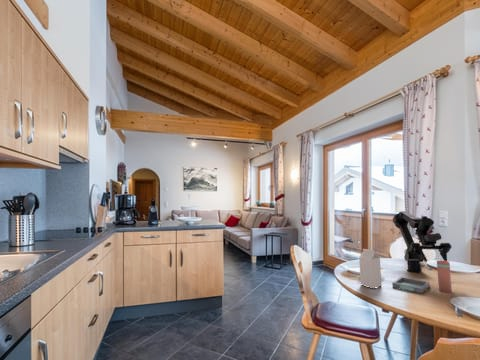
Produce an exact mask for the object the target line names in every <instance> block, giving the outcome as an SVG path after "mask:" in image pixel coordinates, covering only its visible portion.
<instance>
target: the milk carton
mask: <svg viewBox="0 0 480 360" xmlns="http://www.w3.org/2000/svg"><path fill="white" fill-rule="evenodd" d="M358 260H359V275H360V285H361V284H363V285H366V286H369V287H371V288H375V287H379V286H382V287H383V285H382V272H381V269H382V268H381V258H380V256H379V255H378V254H377V253H376V251H375V250H371V249H366V248H363V249H362V252H361V254H360V255H359V259H358ZM379 288H380V287H379Z"/></svg>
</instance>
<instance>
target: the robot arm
mask: <svg viewBox="0 0 480 360" xmlns="http://www.w3.org/2000/svg"><path fill="white" fill-rule="evenodd" d="M392 222H393V224H394V226H395V227H396V228H397V229H399V231H400V233H401V236H402V238H403V241H404V243H405V245H406V249H405V254H404V260H405V262H406V263H407V270H406V271H407V272H412V273H416V274H419V273H421V272H422V271H423V264H422V263H423V262H425V263H427V262H428V259H427V256H426V255H425V253H424V250H426V251H427V250H428V251H429V250H438V252H439V255H440V256H441V259H442V260H443V261H448V253H449V252H450V250H451V249H452V245H451V243H449V242H440V243H439V245H436V244H437V242H438V241H439V240H441V239H442V238H443V237H442V235H441V234H440V233H439V232H437V233H429V232H430V231H431V230H432V228H433V226H434V224H435V221H434V219H432V218H429V217H428V216H427V215H423V216H422V217H418V216H415V215H413V214H411V213H410V211H406V210H405V211H402V210H401V211H399V213H397V214H395V215H394V216H393V217H392ZM408 225H409V226H408ZM409 227H411V228H412V229H415V233H414V235H416V236H417V238H418V239H419V240H418V242H415V241H414V238H413V236H412V233H411V231H410V229H409Z"/></svg>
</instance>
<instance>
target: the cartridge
mask: <svg viewBox="0 0 480 360" xmlns="http://www.w3.org/2000/svg"><path fill="white" fill-rule="evenodd" d="M436 269H437V279H438V280H437V281H438V283H437V284H438V290H439V291H440V292H443V293H452V281H451V280H452V277H451V264H450V261H448V260H447V261H444V260H436Z"/></svg>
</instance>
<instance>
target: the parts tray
mask: <svg viewBox="0 0 480 360" xmlns="http://www.w3.org/2000/svg"><path fill="white" fill-rule="evenodd" d="M391 284H392V288H393V287H396V288H395V289H397V288H400V289H399V290H402V289H404V290H403V291H406V290H408V291H407V292H411V291H412V292H411V293H415V292H416V293H415V294H420V295H423V294H425V292H426V291H428V289H429V288H430V281H426V280H425V281H424V280H420V279H415V278H410V277H406V276H405V277H404V276H399V277H398V278H397V279H396V280H394V281H393V282H392V283H391Z"/></svg>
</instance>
